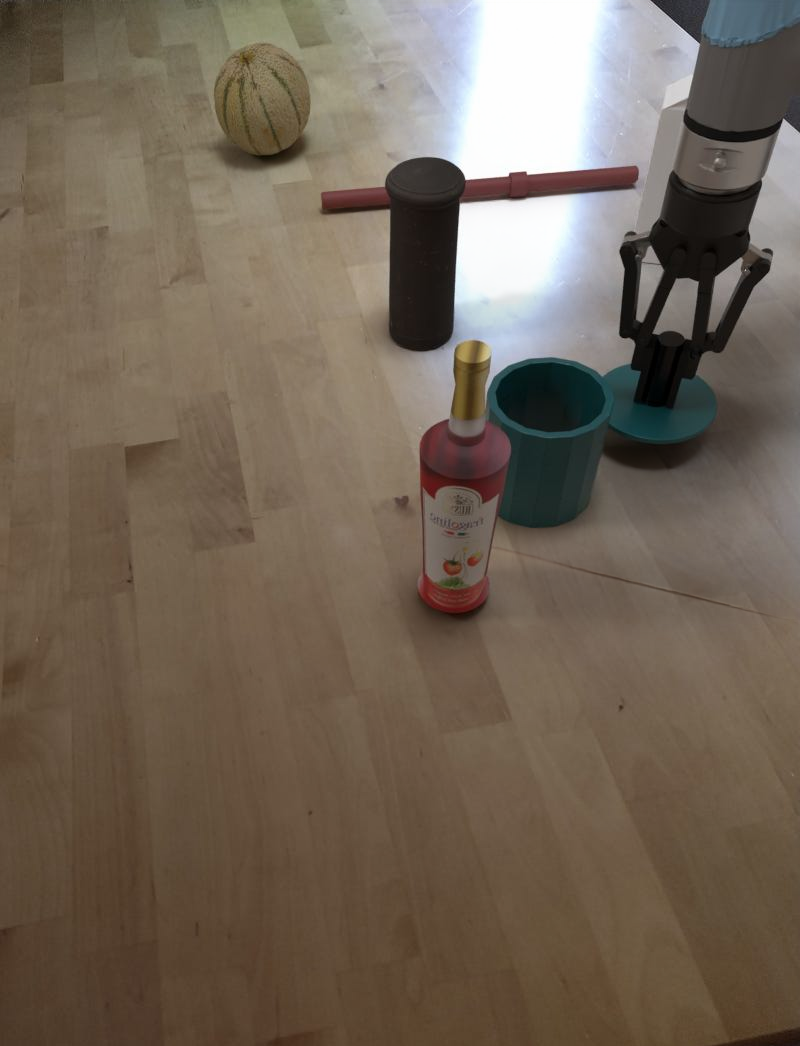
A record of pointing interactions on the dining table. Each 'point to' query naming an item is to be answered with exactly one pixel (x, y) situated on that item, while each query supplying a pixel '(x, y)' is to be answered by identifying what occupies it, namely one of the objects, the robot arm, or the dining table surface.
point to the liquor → (461, 489)
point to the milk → (662, 158)
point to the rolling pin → (497, 185)
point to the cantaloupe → (262, 99)
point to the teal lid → (660, 399)
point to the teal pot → (549, 437)
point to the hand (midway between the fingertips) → (655, 396)
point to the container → (423, 250)
